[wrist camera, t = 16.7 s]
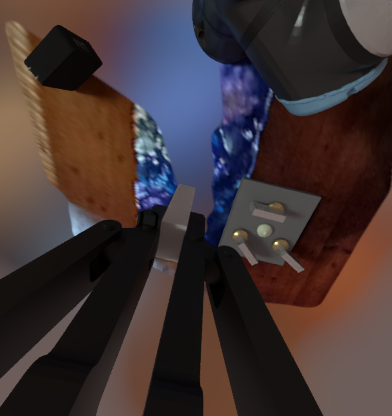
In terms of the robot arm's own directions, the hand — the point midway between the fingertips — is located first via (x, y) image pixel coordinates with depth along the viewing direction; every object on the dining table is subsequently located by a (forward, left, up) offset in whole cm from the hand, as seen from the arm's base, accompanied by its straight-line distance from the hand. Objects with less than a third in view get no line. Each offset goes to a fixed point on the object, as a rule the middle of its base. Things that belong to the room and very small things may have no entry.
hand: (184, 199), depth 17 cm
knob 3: (+23, +31, -32) cm, 50 cm away
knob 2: (+11, +21, -32) cm, 40 cm away
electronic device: (-10, -30, -35) cm, 47 cm away
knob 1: (+23, +19, -32) cm, 44 cm away
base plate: (+17, +23, -34) cm, 45 cm away
